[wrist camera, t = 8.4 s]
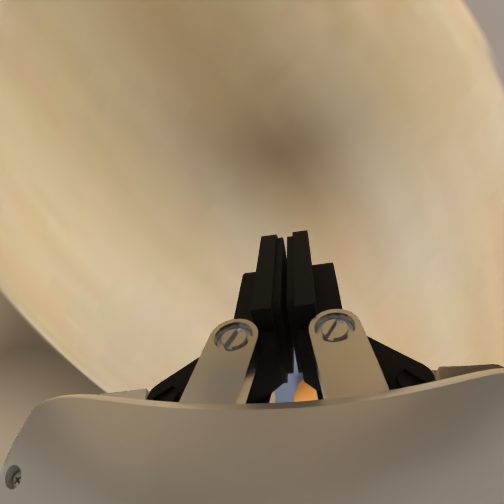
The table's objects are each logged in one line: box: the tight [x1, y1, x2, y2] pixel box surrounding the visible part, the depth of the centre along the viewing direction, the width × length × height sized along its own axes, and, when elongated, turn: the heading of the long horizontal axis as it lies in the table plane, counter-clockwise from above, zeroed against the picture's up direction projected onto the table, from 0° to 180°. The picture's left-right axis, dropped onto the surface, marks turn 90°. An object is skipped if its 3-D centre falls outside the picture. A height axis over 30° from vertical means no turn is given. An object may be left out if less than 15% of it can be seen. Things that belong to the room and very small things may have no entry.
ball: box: [294, 379, 317, 402], centre depth 28 cm, size 6×6×6 cm
